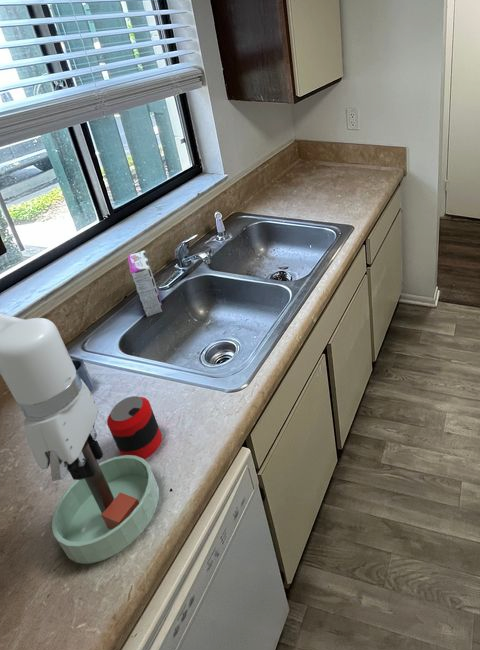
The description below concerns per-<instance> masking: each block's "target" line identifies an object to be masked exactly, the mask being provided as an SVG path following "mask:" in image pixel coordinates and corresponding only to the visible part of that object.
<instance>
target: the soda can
mask: <svg viewBox="0 0 480 650" xmlns="http://www.w3.org/2000/svg"><path fill="white" fill-rule="evenodd" d="M106 425H107V427H108V429H109V432H110V434H111V436H112V438H113V441H114V443H115V445H116V447H117V450H118V451H119V454H120V456H123V455H135V456H138V457H140V458H143V459H144V460H145V461H146V459H148V458H150V457H151V456H152V455H153V454H154V453H155V452H156V451H157V450H158V449H159V447H160V446H161V444H162V441H163V435H162V432H161V430H160V427H159V425H158V422H157V419H156V416H155V413H154V410H153V408H152V406H151V403H150V401H149V399H147V398H146V397H144V396H138V395H137V396H136V395H134V396H133V395H132V396H129V397H125V398H124V399H122V400H120V401H119V402H117V403H116V404H115V405H114V406H113V407H112V410H111V411H110V413H109V415H108V416H107V419H106Z"/></svg>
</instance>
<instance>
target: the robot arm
mask: <svg viewBox="0 0 480 650" xmlns="http://www.w3.org/2000/svg"><path fill="white" fill-rule="evenodd" d="M72 360H73V359H72V358H71V355H70V354H69V351H68V349H67V346H66V345H65V343H64V340H63V339H62V335H61V334H60V331H59V329H58V327H57V325H56V324H55V323H54V322H53V321H52V320H50V319H48V318H44V317H33V318H27V319H25V318H21V317H17V316H12V315H9V314H5V313H0V376H1V377H2V379H3V381H4V383H5V384H6V386H7V388H8V390H9V391H10V393H11V395H12V397H13V398H14V401H15V402H16V403H17V405H18V407H19V409H20V411H21V412H22V414H23V416H24V417H25V419H24V422H23V427H24V432H25V436H26V440H27V443H28V446H29V449H30V452H31V453H32V456H33V457H34V460H35V462H36V463H37V465H38V467H39V468H40V469H41V470H48V469H49V467H50V475H51V481H52V482H55V481H60V480H64V478H65V477H66V476H67V475H68V474H70V476H71V478H72V479H73V480H75V481H76V480H81V479H84V478H88V477H93V476H94V475H95V473H96V472H95V469H94V467H93V465H92V463H91V461H90V459H89V458H85V457H84V454H83V452H82V448H83V446H84V444H85V442H86V440H87V441H88V443H89V445H90V447H91V449H92V452H93V454H94V456H95V458H96V460H97V461H98V460H101V459H102V458H103V457H104V452H103V450H102V448H101V446H100V444H99V442H98V440H97V437H98V433H97V430H96V429H95V424H96V421H97V418H98V415H99V408H98V403H97V401H96V400H95V398H94V395H93V394H92V392H91V391H90V390H89V389H88V387H87V386H86V385H85V383H84V382H83V381H82V380H81V379H80V377H79V375H78V373H77V371H76V369H75V366H74V364H73V362H72Z"/></svg>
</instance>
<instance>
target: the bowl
mask: <svg viewBox="0 0 480 650" xmlns="http://www.w3.org/2000/svg"><path fill="white" fill-rule="evenodd" d="M98 464H99V466H100V469H101V471H102V473H103V475H104V477H105V479H106V481H107V484H108V486H109V488H110V490H111V492H112V494H113V496H114V498H116V497H117V495H118V494H119V493H120V492H121V493H123V494H126V495H128V496H131V497H134V498H136V499H138V502H139V504H138V506H137V507H136V508H135V509H134V511H133V512H132V513H131V514H130V515H129V516H128V517H127V518H126V519H125V520H124V521H123V522H122V523H121V524H120V525H118V526H117V527H115V528H114V529H109V528H107V526H106V524H105V522H104V520H103V518H102V516H101V515H102V513H101V511H100V509H99V507H98V505H97V503H96V501H95V499H94V497H93V495H92V493H91V491H90V489H89V487H88V485H87V483H86V481H85V479H81V480H75V481H74V482H73V483H72V484H70V486H69V487H68V488H67V489H66V491H65V493H63V495H62V496H61V498H60V499H59V501H58V503H57V504H56V507H55V509H54V512H53V516H52V520H51V530H52V535H53V537H54V538H55V539H56V541H57V542H58V544H59V546H60V547H61V549H62V551H63V552H64V553H65V555H66V557H67V558H68V559H69V560H70V561H73V562H74V563H77V564H83V565H84V564H87V565H88V564H95V563H99V562H102V561H105V560H107V559H110V558H111V557H114V556H115V555H117V554H118V553H121V552H122V551H123V550H125V549H126V548H127V547H128V546H129V545H131V544H132V543H133V542H134V541H135V540H136V539H137V538H138V537H139V536H140V535H141V534H142V533H143V532H144V531H145V529H146V528H147V526H148V525H149V524H150V523H151V521H152V518H153V517H154V514H155V512H156V510H157V507H158V503H159V500H160V488H159V485H158V483H157V480H156V477H155V475H154V472H153V471H152V468H151V465H150V464H149V462H148V461H147V460H146V459H145V460H144V459H143V458H140V457H138V456H135V455H123V456H121V455H118V456H114V457H111V458H109V459H106V460H103V461H101V462H99V463H98Z"/></svg>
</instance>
